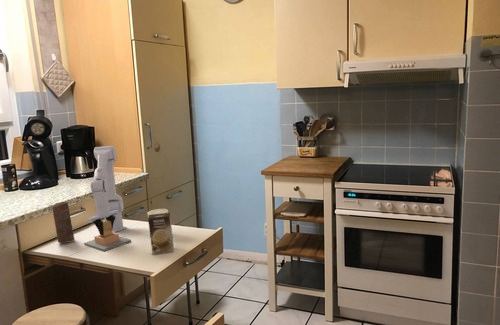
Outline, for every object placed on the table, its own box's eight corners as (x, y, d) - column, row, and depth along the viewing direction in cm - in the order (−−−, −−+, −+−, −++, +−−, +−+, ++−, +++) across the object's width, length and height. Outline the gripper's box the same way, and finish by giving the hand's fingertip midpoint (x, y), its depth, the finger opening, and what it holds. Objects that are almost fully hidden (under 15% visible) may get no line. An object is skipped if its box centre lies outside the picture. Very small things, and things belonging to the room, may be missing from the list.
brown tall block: (68, 245, 198) (61, 204, 195) (54, 245, 199) (47, 205, 196) (77, 239, 205) (71, 200, 202) (64, 239, 207) (58, 201, 204)
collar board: (84, 245, 196) (83, 236, 195) (110, 235, 206) (109, 228, 206) (104, 251, 184) (103, 243, 183) (131, 241, 194) (130, 233, 194)
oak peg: (101, 238, 194) (98, 222, 193) (108, 236, 197) (106, 220, 196) (105, 240, 192) (103, 223, 190) (113, 237, 195) (110, 221, 193)
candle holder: (173, 231, 204) (170, 208, 202) (167, 238, 194) (164, 213, 193) (154, 232, 205) (151, 209, 203) (147, 239, 195) (144, 215, 194)
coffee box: (151, 255, 174) (147, 218, 172) (153, 250, 180) (148, 214, 178) (173, 252, 175) (169, 216, 173) (174, 247, 181) (170, 212, 179)
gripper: (91, 210, 184) (96, 239, 186) (120, 202, 195) (124, 229, 197) (84, 208, 189) (88, 236, 191) (112, 200, 200) (116, 227, 202)
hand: (106, 233), depth 194 cm, fingers closed on oak peg, 4 cm apart
